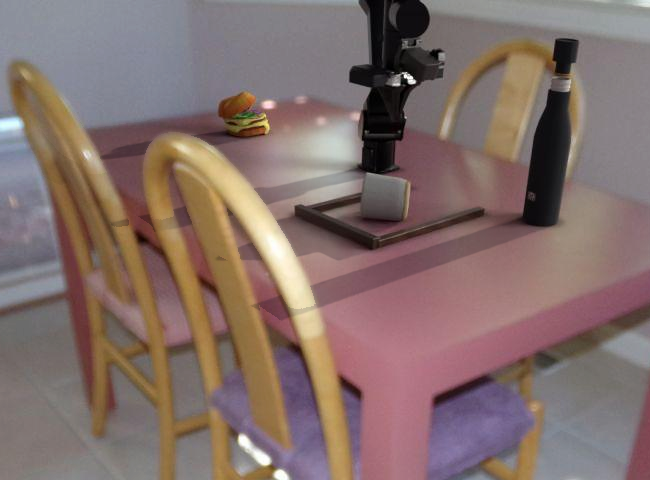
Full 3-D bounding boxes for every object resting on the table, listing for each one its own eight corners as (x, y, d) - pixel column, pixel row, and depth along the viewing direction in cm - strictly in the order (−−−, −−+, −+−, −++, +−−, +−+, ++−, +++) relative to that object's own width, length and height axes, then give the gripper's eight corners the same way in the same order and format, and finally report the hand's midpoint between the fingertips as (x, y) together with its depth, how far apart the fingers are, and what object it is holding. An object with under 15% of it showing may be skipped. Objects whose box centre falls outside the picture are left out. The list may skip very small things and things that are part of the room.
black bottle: (560, 217, 145) (590, 39, 129) (555, 228, 140) (585, 44, 124) (525, 212, 146) (550, 35, 131) (518, 222, 141) (544, 40, 126)
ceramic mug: (406, 227, 137) (409, 182, 133) (359, 223, 137) (360, 179, 133) (410, 208, 146) (412, 166, 142) (365, 205, 146) (367, 162, 142)
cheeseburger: (267, 138, 181) (255, 94, 176) (223, 148, 182) (209, 104, 177) (273, 127, 190) (262, 84, 185) (230, 136, 191) (217, 93, 186)
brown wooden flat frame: (405, 186, 156) (406, 177, 155) (484, 214, 144) (485, 205, 143) (294, 215, 139) (294, 205, 138) (372, 249, 127) (373, 239, 126)
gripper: (393, 39, 128) (389, 138, 136) (469, 32, 140) (461, 123, 148) (347, 30, 135) (346, 124, 143) (423, 24, 146) (418, 112, 154)
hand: (395, 121), depth 147 cm, fingers closed
